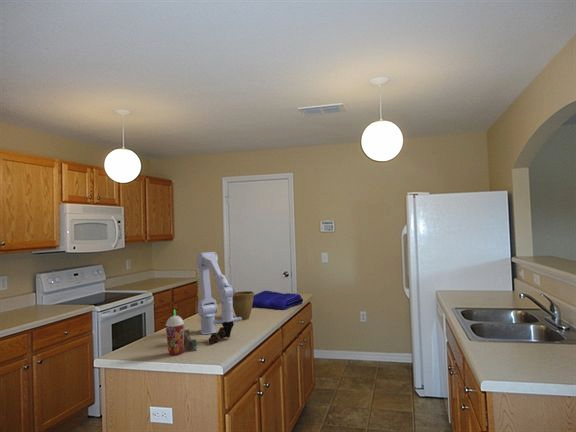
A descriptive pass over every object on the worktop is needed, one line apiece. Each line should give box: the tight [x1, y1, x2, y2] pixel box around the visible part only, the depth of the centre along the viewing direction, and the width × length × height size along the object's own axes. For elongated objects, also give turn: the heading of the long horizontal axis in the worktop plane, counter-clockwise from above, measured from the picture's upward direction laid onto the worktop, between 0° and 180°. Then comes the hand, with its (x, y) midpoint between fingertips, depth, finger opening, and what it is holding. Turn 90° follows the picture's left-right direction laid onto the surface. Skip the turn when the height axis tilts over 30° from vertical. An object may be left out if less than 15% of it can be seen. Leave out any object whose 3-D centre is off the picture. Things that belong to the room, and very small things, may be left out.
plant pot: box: [232, 290, 255, 321], centre depth 249 cm, size 15×15×16 cm
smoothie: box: [165, 309, 185, 356], centre depth 183 cm, size 8×8×20 cm
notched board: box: [184, 329, 197, 352], centre depth 196 cm, size 22×3×5 cm, turn 23°
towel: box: [252, 290, 304, 311], centre depth 288 cm, size 26×36×9 cm
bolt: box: [207, 326, 227, 345], centre depth 202 cm, size 6×5×15 cm
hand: (228, 337), depth 203 cm, fingers closed
